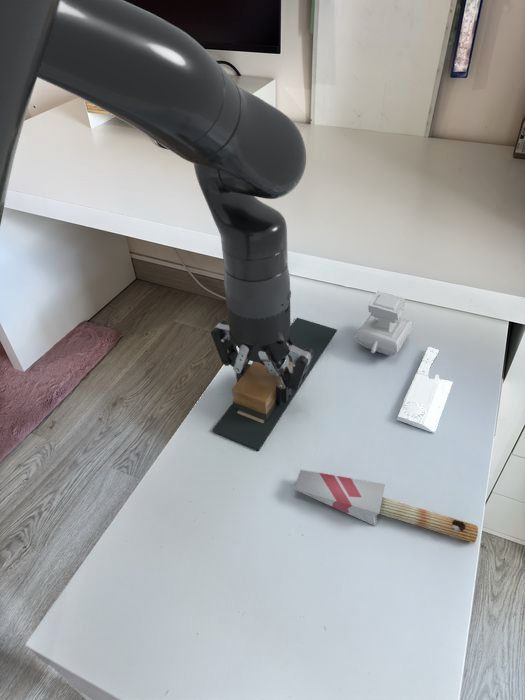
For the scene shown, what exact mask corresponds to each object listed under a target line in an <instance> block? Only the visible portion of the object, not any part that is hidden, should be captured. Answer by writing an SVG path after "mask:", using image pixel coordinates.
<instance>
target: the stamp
mask: <svg viewBox="0 0 525 700" xmlns="http://www.w3.org/2000/svg"><path fill="white" fill-rule="evenodd" d="M405 303H406V297H404V296H403V297H402V296H399V295H395V294H391V293H387V292H384V291H379V290H377V291H376V293H375V295H374V296H373V298H372V299H371V301H370V302H369V304H368V313H370V315H369V316H368V317H367V319H366V320H365V321H364V323H363V325H362V326H361V327H360V329H358V331H357V333H356V334H355V337H354V339H355V340H356V342H358V343H359V344H360V345H362V347H363V348H366V349H368V350H370V352H371V354H375V353H376V352H377V353H380V354H382V355H386V356H388V357H391V356H394V355H396V354H397V353H398V352H399V351H400V349H401V347H402V345H403V344H404V342H405V340H406V339H407V338H408V336H409V334H410V333H411V331H412V329H413V322H412V321H411V320H407V319H404V318H402V317H401V315H402V312H403V311H404V307H405Z"/></svg>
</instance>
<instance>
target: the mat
mask: <svg viewBox="0 0 525 700" xmlns="http://www.w3.org/2000/svg"><path fill="white" fill-rule="evenodd" d="M337 331H338V330H337V328H333V327H330V326H327V325H324V324H320V323H316V322H314V321H310V320H308V319H304V318H300V317H296V318H295V319H294V321H293V322H292V324H290V337H291V339H292V341H293V345H294V346H296V347H298V348H300V349H302V350H305V348H307V347H309V348H311V349H312V350H313V351H314V354H313V357H312V360H311V362H310V365H309V368H308V371H307V374H306V376H305V378H304V380H303V381H302V382H301V384H300V385H299V387H298V389H297V390H292V389H291V396H290V397H289V399H288V400H287V402H286V403H283V405H282V406H281V405H277V407H276V408H275V410H274V411H273V413H272V414H271V416H270V417H269V419H268V420H267V421H264V420H262V419H259V418H257V417H254V416H252V415H249V414H246V413H244V412H241V411H239V410H236V409H235V407H234V401H232V403H231V404H230V406H229V407H228V408H227V410H225V412H224V413H223V415H222V416H221V417H220V419H219V420H218V421H217V422H216V424H215V426H214V427H213V428H212V429H211V432H212V433H214V434H216V435H217V436H220V437H223V438H226V439H228V440H231V441H233V442H235V443H237V444H239V445H241V446H242V445H243V446H245V447H247V448H250V449H252V450H254V451H257V452H259V451H260V450H261V449H262V447H263V445H264V444H265V442H266V440H268V437H269V436H270V435H271V433H272V431H273V430H274V428H275V427H276V425H277V424H278V422H279V421H280V419H281V417H282V416H283V415H284V413H285V411H286V410H287V409H288V407H289V406H290V403H291V402H292V401H293V399H294V398H295V396H296V394H297V393H298V392H299V390H300V389H301V388H302V387H301V386H302V385H303V384H304V382H305V381H306V380H307V378H308V376H309V375H310V373H311V372H312V370H313V368H314V366H315V365H316V364H317V362H318V361H319V359H320V357H321V356H322V355H323V353H324V351H325V349H326V348H327V346H328V345H329V344H330V342H331V341H332V339H333V338H334V336H335V334H336V333H337ZM288 357H289V361H290V362H292V357H291V356H290V355H289V354H288ZM292 363H293V362H292ZM294 368H295V367H293V371H294Z"/></svg>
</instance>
